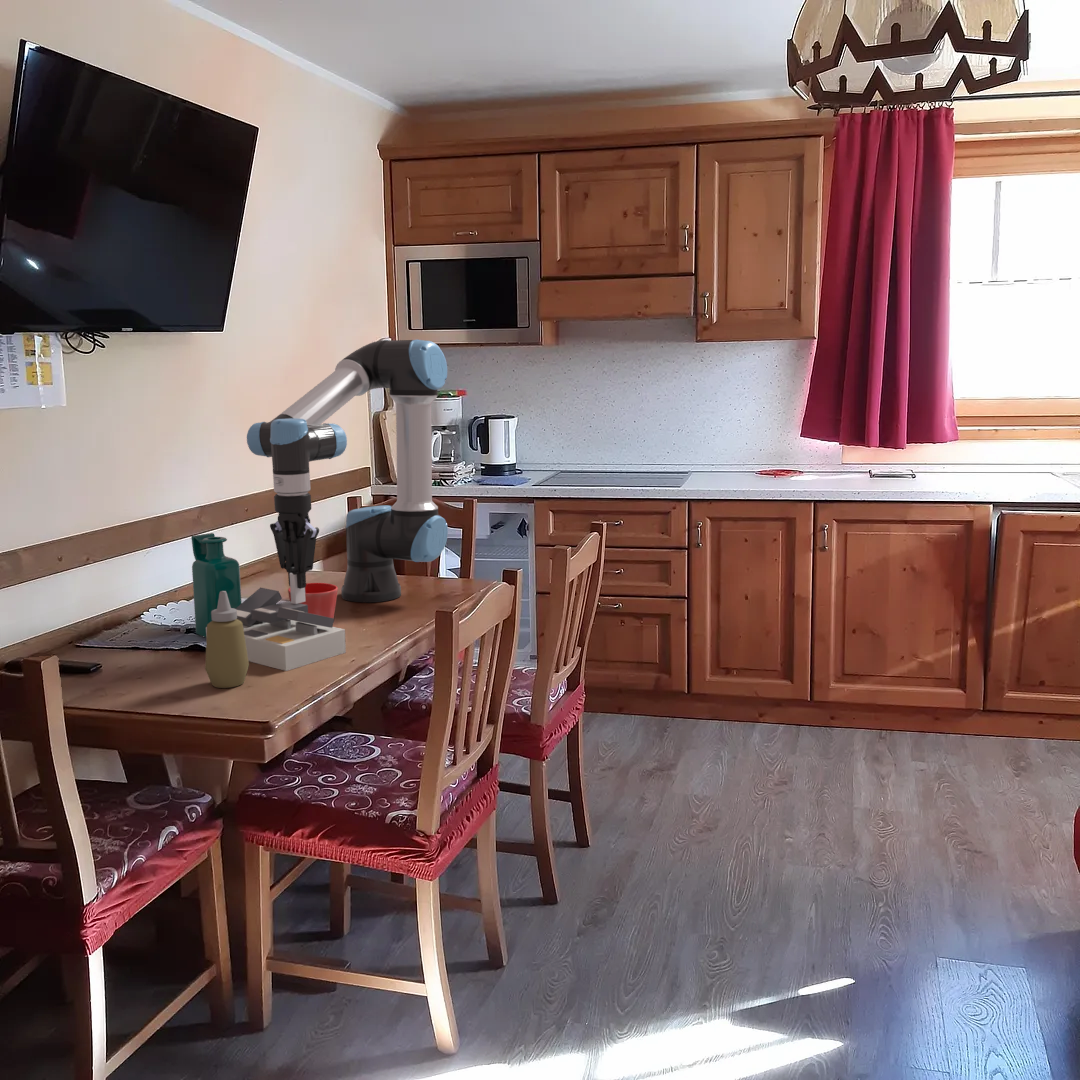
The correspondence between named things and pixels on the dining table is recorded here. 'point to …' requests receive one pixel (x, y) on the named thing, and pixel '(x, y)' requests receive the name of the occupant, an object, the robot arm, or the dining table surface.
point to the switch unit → (291, 643)
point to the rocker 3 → (305, 617)
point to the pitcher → (212, 578)
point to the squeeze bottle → (225, 646)
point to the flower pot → (320, 598)
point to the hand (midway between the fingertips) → (298, 602)
